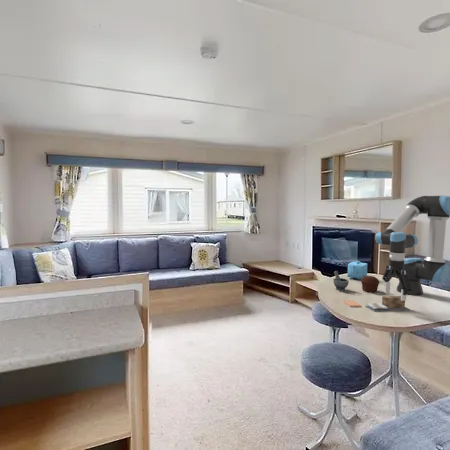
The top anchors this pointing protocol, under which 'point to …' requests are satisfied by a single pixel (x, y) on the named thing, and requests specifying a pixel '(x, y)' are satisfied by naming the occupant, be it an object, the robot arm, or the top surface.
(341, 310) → the top surface
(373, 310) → the tool mat
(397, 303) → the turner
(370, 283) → the muffin
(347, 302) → the tile
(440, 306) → the top surface
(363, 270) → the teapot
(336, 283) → the mortar and pestle
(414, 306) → the top surface
